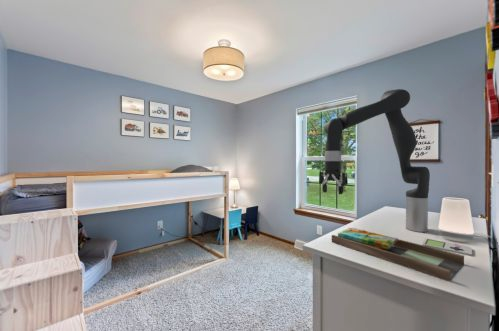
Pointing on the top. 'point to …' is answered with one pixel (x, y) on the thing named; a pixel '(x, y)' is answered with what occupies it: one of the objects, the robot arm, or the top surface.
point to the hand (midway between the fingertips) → (332, 193)
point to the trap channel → (412, 256)
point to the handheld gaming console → (448, 246)
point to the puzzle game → (368, 238)
